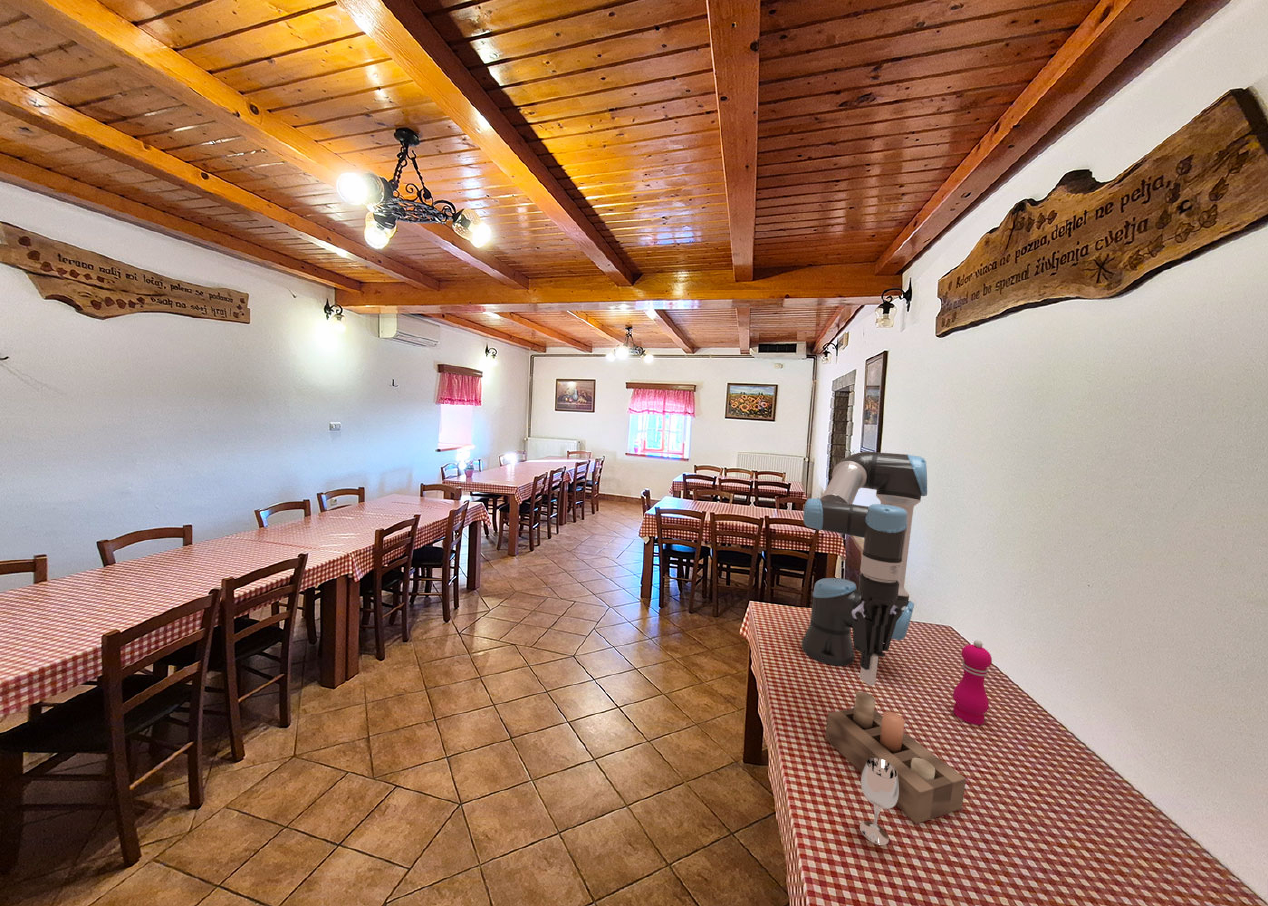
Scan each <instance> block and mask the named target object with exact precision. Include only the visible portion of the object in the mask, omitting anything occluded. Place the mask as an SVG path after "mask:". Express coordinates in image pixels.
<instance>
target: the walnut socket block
mask: <svg viewBox="0 0 1268 906" xmlns="http://www.w3.org/2000/svg"><path fill="white" fill-rule="evenodd" d="M853 715H854V707H853V708H848V709H841V710H838V711H833V712H828V713H827V716H826V728H825V737H824V739H825V740H826V741H827V742H828V743H829V744H830V745H831V746H832V747H833V748H834V749H835V750H837V751H838V752H839V753H840V754H841V755H842V756H843V757H844V758H845V759H846V760H847V761H848V762H849V763H850V764H852V765H853V766H854V767H855V769H857V770H858V771H859V772H860V773H861V774H862V772H863V769H864V766H865V764H866V762H867V760H868V759H869V758H879V759H882V760H884V761H886V762H888V763H890V764H891V765H892V766H893V767H894V768H895V769H896V771H897V773H898V779H899V798H898V801H897V803H896V805H895V806H896V807H897V808H898V809H899V810H900V811H901V812H902V813H904V815H906V816H907V817H908V818H909V819H910V820H911V821H912V822H913V823H915V825H917V824H920V823H923V822H926V821H930V820H933V819H935V818H937V817H938V818H939V817H941V816H944V815H947V814H950V813H953V812H957V811H959V810H962V809H963V805H964V804H963V802H964V797H965V796H964V795H965V789H966V781H967V778H966V777H965V776H963V775H961V773H959V772H958V771H956V769H954V768H952V767H951V766H950V765H948V764H947V763H945V762H944V761H943V760H942V759H941V758H939V757H938V756H937V755H936V754H934V753H933V752H932V751H930V750H929V749H927V748H926V747H924V746H923V745H922V744H920V743H919V742H918V741H917V740H915V739H914V738H913V737H911V736H910V735H908V734H907V733H906V732H905V731H903V738H902V746H901V751H900V752H892V751H889V750H887V749H886V748H884V747H883V746H882V745H881V744H880V736H881V728H882V720H883V714H881V713H879V712H878V711H876V710H875V709H874V715H873V724H872V728H870V729H865V728H862V727H859V726H858V725H856V724H855V723H854V721H853ZM913 758H921V759H924V760H926V761H928V762H929V763H931V764H932V765H933V766H934V768H935V776H934V780H931V781H927V782H926V781H924V780H923V779H922V778H921V777H920V776H918V775H917V774H916V773H915V772H913V771H912V770H911V762H912V759H913Z"/></svg>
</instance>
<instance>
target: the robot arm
mask: <svg viewBox="0 0 1268 906" xmlns="http://www.w3.org/2000/svg"><path fill="white" fill-rule="evenodd" d="M927 467H928V466H927V461H926V460H925V458H924V457H922V456H918V455H914V454H911V455H910V454H909V453H908V454H907V453H906V454H904V453H903V454H902V453H893V452H892V453H888V452H880V451H879V452H878V451H861V452H856V453H853V454H850V455H848V456H846V457H844V458H843V459H841V460H840V461H838V462H837V463H836V464H835V466H834V468H833V470H832V473H831V477H832V478H831V479H830V481H829V483H828V485H827V487H826V488H825V490H824V492H823V493H822V496H820V498H812V497H811V498H807V500H806V501H805V504H804V509H803V515H802V516H803V524H804V525H805V526H806V527H807V528H811V529H815V530H818V531H823V532H831V533H836V534H843V535H847V536H852V537H856V538H857V537H858V538H863V549H862V553H861V562H860V573H861V574H860V575H859V581H858V586H857V585H856V583H855V582H854V581H851V580H848V579H845V578H839V577H837V578H835V577H827V578H821V579H819V580H817V581H816V582H815V583H814V587H813V592H812V602H811V610H810V611H811V612H810V622H809V625H808V627H807V629H806V631H805V634H804V636H803V638H802V640H801V641H802V642H801V649H802V651H803V652H804V654H806V655H807V656H809V657H810V658H812V659H814V660H815V661H818V662H820V663H823V664H827V665H832V666H836V667H837V666H838V667H839V666H841V667H842V666H843V667H846V666H850V665H852V664H854V662H855V650H856V651H858V652H859V653H860V662H859V666H860V674H859V680H860V681H862V682H864V683H865V684H866V685H867V686H868V687H872V686H876V680H877V671H878V668H879V663H880V657H881V658H884V657H885V656H886V654H885V652H888V651H889V649H890V645H891V641H892V640H895V641H903V640H904V639H905V637H906V636H907V633H908V630H909V627H910V623H911V620H912V619H911V618H912V617H913V616H912V614H913V610H914V608H915V603H914V602H913V601H912V600H910V594H909V592H908V591H907V590H906V589H905V584H906V583H905V582H906V581H905V580H906V574H907V573H906V572H907V566H908V565H907V564H908V558H909V557H908V556H909V549H910V548H909V547H910V541H911V540H910V539H911V533H912V532H911V531H912V522H913V515H914V507H915V506H916V505H918V504H919V503H921V500H922V499H921V498H922V497H926V496H928V470H927ZM861 488H862V489H870V490H875V491H876V492H875V493H876V494H875V497H877V499H878V500H879V501H880V503H875V504H873V503H872V504H870V505H869V506H868V505H859V504H854V501H855V499H856V497H857V494H858V492H859V490H860V489H861ZM857 587H858V588H857ZM851 633H852V634H851ZM851 635H852V636H851Z"/></svg>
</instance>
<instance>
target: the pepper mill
mask: <svg viewBox="0 0 1268 906" xmlns="http://www.w3.org/2000/svg"><path fill="white" fill-rule="evenodd" d="M983 645H984V644H983V642H982V641H981V640H978V639H975V640H974V641H973V644H966V645H965V646H963V648H962V649H961V657H962V659H963V660H962V669H963V675H962V677H961V680H959V682H958V684H956V686H955V688H954V690H953V693H952V698H953V700H954V702H955V703H954V704H953V710H952V711H953V713H954V715H955V717H957V718H958V719H960V720H962V721H964V722H965V723H968V724H971V725H975V726H983V725H984V723H985V719H986V716H985V713H987V712H988V711H989V707H990V702H989V697H988V695H987V693H986V689H985V685H984V684H985V677H986V676H987V675H988V671H989V670H988V668H989V667H990V666H991V665H992V660H993V659H992V655H991V653H990V652H989V651H988V650H987V649H986V648H984V647H983Z"/></svg>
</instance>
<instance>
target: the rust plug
mask: <svg viewBox="0 0 1268 906" xmlns="http://www.w3.org/2000/svg"><path fill="white" fill-rule="evenodd" d="M882 716H883V720H882V728H881V736H880V744H881V745H882V746H883V747H884V748H886V749H887V750H889V751H892V752H900V751H901V746H902V738H903V732H904V730H905V729H904V728H905V722H906V721H905V719H904V718H903V717H902V716H901V715H900V714H897V713H895V712H892V711H884V712H883V714H882Z"/></svg>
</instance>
